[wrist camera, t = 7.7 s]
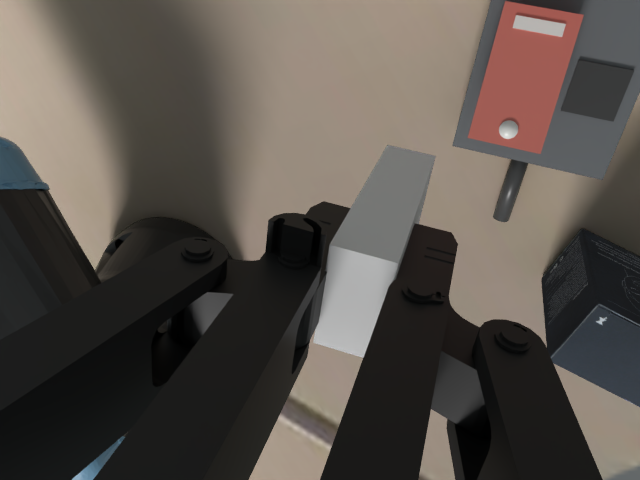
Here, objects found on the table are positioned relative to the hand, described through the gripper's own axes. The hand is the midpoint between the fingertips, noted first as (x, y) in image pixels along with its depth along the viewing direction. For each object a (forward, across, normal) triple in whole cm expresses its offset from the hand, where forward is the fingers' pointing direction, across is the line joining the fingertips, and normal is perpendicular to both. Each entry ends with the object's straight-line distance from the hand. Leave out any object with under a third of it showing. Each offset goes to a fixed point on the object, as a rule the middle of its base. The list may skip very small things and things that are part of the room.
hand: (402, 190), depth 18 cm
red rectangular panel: (+21, +4, 0) cm, 21 cm away
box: (+27, +15, -15) cm, 34 cm away
